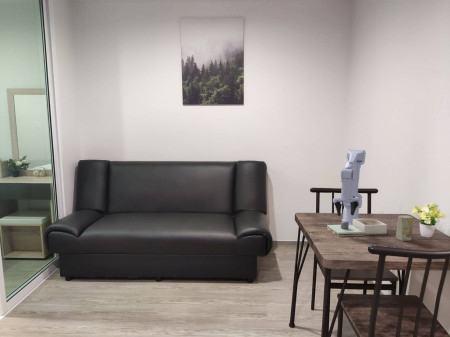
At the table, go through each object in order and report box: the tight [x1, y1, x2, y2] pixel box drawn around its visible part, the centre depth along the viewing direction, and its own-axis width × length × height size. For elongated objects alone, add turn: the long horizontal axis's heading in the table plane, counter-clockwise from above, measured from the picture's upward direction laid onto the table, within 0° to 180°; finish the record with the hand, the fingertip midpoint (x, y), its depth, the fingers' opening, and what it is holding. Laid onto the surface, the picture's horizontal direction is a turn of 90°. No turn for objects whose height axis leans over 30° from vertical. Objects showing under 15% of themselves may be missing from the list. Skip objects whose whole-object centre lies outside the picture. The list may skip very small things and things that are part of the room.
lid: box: [326, 220, 363, 234], centre depth 191 cm, size 14×14×5 cm
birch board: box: [326, 227, 364, 238], centre depth 191 cm, size 15×14×1 cm
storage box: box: [351, 218, 388, 236], centre depth 194 cm, size 13×13×5 cm
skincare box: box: [395, 214, 414, 242], centre depth 179 cm, size 6×4×12 cm
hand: (345, 215), depth 190 cm, fingers open, 7 cm apart
